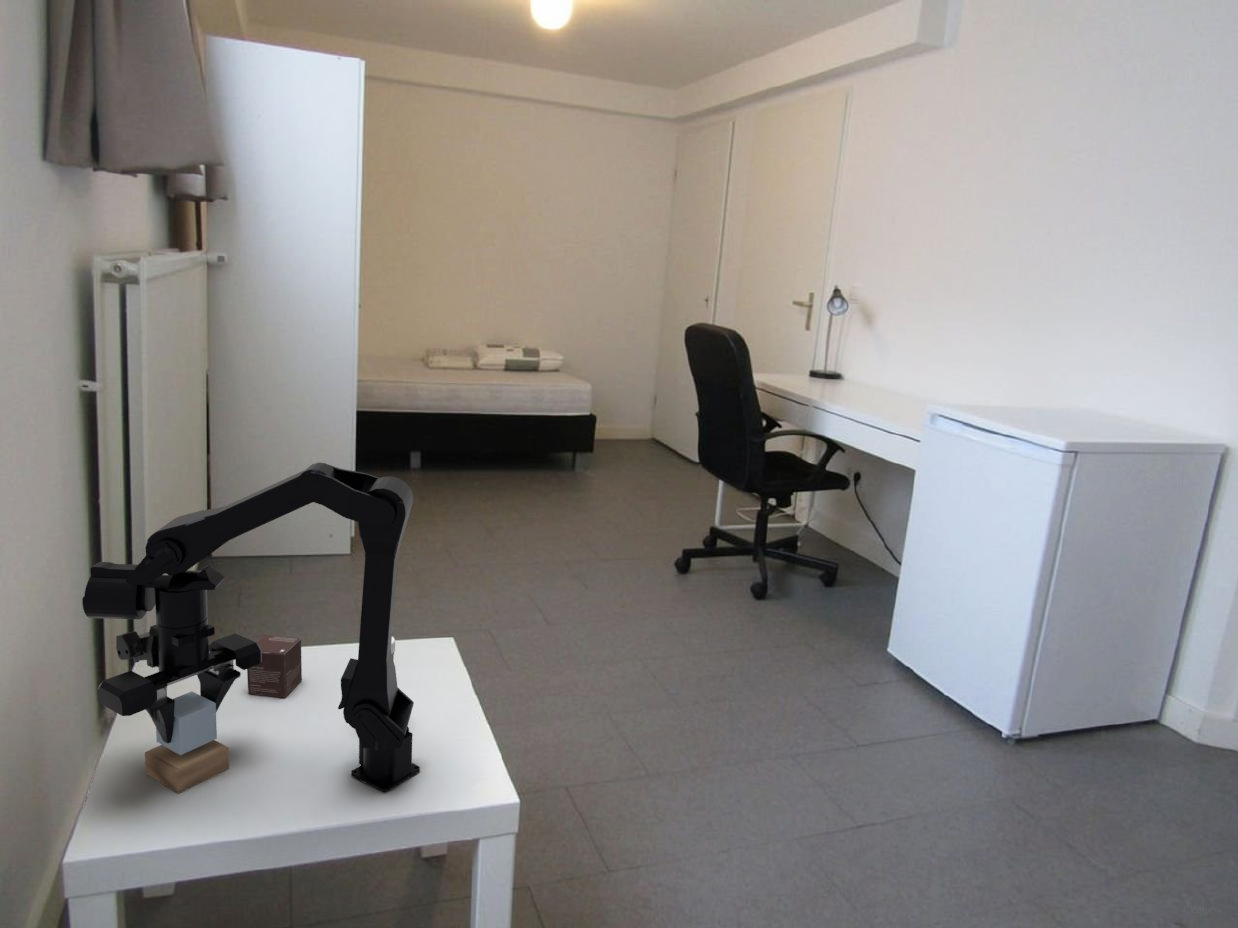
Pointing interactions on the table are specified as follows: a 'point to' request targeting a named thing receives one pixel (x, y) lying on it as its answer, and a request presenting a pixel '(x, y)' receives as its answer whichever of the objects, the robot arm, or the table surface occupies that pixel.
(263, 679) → the box
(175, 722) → the blue cube
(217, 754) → the base block
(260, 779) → the table surface
